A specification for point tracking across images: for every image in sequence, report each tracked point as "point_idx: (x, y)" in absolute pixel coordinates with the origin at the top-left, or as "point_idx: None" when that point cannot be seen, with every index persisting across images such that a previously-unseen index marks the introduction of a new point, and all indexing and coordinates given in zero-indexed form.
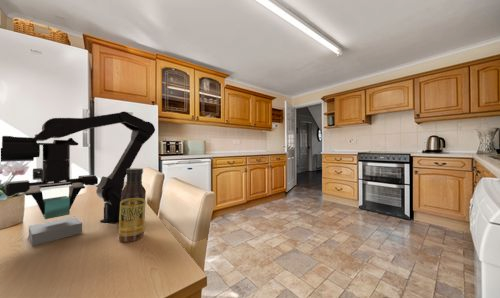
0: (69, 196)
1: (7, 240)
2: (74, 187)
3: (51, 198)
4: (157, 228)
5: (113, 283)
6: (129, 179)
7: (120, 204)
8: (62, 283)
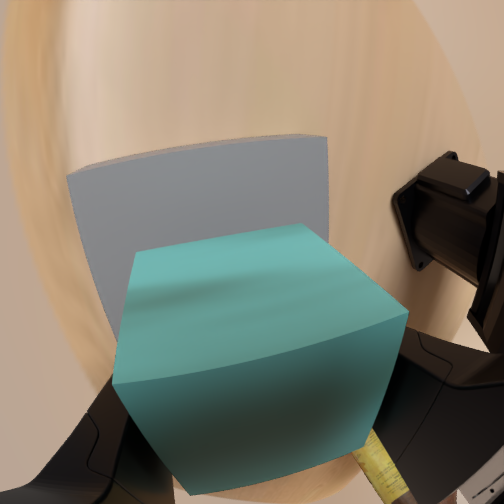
0: (395, 399)
1: (18, 169)
2: (454, 491)
3: (227, 403)
4: None
5: (277, 496)
6: None
7: (387, 501)
8: (231, 490)
